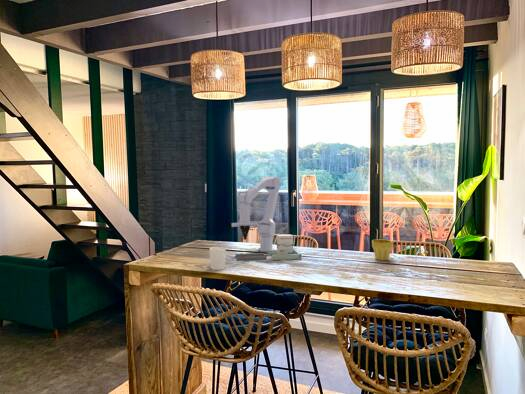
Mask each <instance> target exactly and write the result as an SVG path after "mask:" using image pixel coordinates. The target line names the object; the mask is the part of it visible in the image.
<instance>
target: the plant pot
mask: <svg viewBox="0 0 525 394" xmlns="http://www.w3.org/2000/svg"><path fill="white" fill-rule="evenodd" d="M371 247H372V249H373V253H374V259H375V260H377V259H378V260H377V261H388V260H389V257H390V255H391V249H392V248H393V241H392V240H389V239H379V238H378V239H372V240H371ZM387 259H388V260H387Z"/></svg>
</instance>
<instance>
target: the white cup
mask: <svg viewBox="0 0 525 394" xmlns="http://www.w3.org/2000/svg"><path fill="white" fill-rule="evenodd" d="M209 259H210V262H209V263H210V269H211V270H212V271H213V270H214V271H220V270H221V271H222V270H224V269H225V268H226V247H225V246H213V247H212V246H211V247H209Z"/></svg>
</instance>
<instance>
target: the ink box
mask: <svg viewBox="0 0 525 394" xmlns="http://www.w3.org/2000/svg"><path fill="white" fill-rule="evenodd" d="M293 249H294V236H293V234H277V235H276V250H277V255H283V254H293Z"/></svg>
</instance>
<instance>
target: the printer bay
mask: <svg viewBox="0 0 525 394" xmlns="http://www.w3.org/2000/svg"><path fill="white" fill-rule="evenodd" d="M234 255H235V258H236V261H253V260H254V261H255V260H267V256H268V255H267V256H266V255H265V252H256V253H255V252H253V253H251V252H250V253H249V252H248V253H235V254H234Z"/></svg>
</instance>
